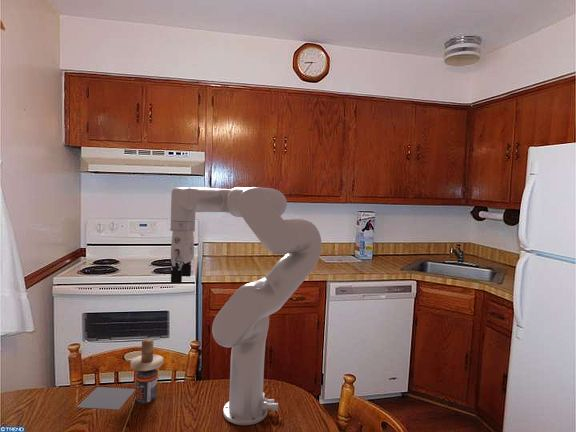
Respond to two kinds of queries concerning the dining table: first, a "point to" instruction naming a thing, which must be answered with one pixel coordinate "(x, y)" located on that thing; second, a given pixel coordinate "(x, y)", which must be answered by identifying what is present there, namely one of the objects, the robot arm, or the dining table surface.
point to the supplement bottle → (146, 386)
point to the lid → (147, 358)
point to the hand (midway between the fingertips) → (181, 279)
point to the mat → (106, 398)
